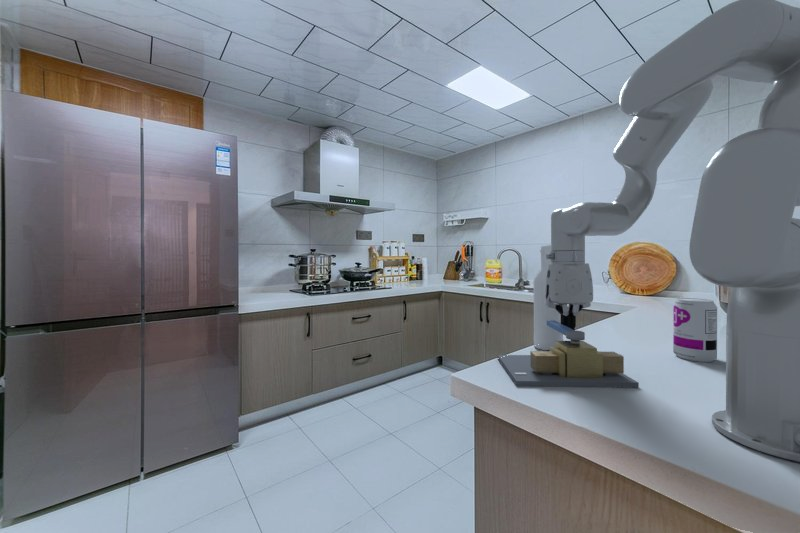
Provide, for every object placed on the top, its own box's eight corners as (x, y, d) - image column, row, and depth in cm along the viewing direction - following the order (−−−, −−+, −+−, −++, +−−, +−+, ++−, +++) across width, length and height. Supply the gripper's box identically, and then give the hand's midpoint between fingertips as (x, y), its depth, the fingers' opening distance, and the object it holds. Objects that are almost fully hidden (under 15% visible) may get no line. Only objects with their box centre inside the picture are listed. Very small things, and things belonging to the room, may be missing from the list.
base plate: (638, 387, 64) (638, 381, 64) (516, 385, 66) (516, 380, 66) (592, 359, 82) (592, 354, 82) (497, 358, 84) (497, 354, 84)
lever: (587, 340, 68) (587, 334, 68) (570, 340, 68) (570, 333, 68) (557, 325, 84) (557, 319, 84) (543, 325, 84) (543, 319, 84)
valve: (627, 383, 66) (627, 343, 66) (537, 382, 68) (537, 343, 68) (610, 373, 72) (610, 336, 72) (529, 372, 74) (528, 336, 74)
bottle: (560, 344, 96) (560, 245, 96) (566, 352, 89) (565, 244, 88) (532, 343, 99) (531, 246, 98) (535, 350, 91) (534, 245, 91)
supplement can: (684, 361, 79) (684, 301, 79) (667, 352, 87) (667, 297, 87) (725, 364, 77) (725, 302, 77) (703, 354, 85) (704, 298, 84)
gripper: (544, 258, 77) (544, 334, 77) (607, 257, 76) (607, 333, 77) (531, 258, 84) (532, 327, 85) (589, 257, 84) (589, 327, 84)
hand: (568, 330), depth 81 cm, fingers closed
